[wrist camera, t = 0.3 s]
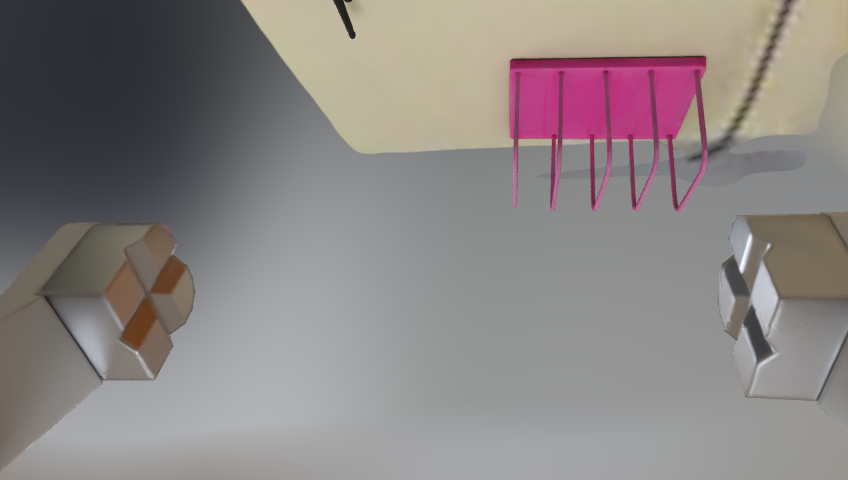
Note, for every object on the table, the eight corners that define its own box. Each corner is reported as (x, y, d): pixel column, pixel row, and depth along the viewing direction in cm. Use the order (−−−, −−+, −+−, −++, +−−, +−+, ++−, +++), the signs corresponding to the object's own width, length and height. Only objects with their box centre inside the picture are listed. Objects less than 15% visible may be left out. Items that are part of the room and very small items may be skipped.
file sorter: (674, 129, 99) (682, 222, 93) (510, 129, 102) (507, 218, 96) (706, 55, 83) (718, 162, 77) (510, 58, 86) (507, 160, 80)
